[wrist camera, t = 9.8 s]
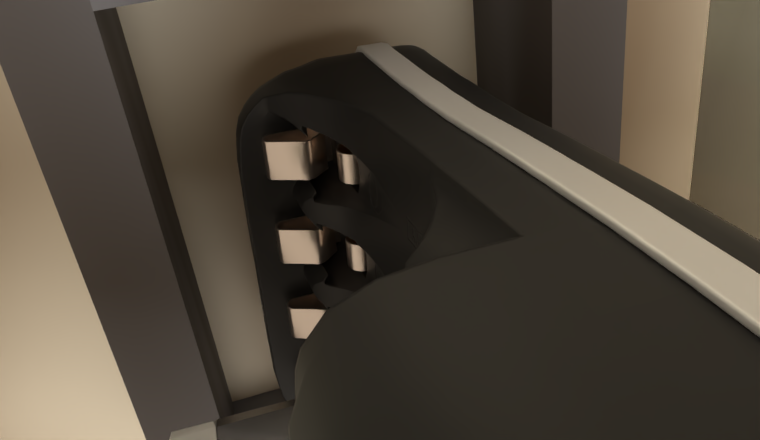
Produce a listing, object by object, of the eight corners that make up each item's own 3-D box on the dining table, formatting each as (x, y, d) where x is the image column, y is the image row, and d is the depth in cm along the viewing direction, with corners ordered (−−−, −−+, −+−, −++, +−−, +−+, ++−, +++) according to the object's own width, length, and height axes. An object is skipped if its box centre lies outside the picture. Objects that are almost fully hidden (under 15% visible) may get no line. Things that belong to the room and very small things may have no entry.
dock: (689, -356, 13) (922, -439, 9) (637, 349, 21) (748, 465, 17) (-346, -249, 10) (-657, -302, 6) (54, 524, 18) (29, 713, 14)
